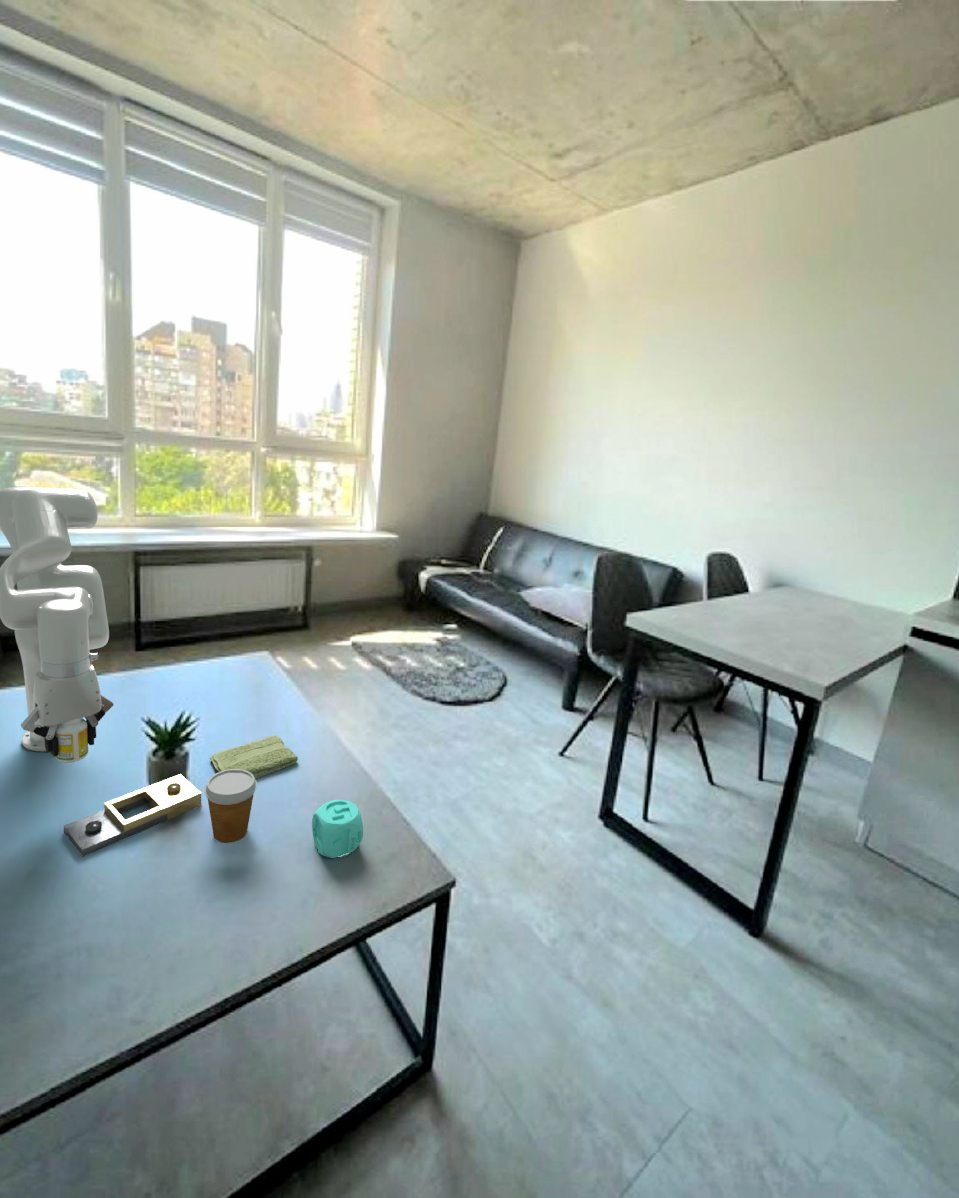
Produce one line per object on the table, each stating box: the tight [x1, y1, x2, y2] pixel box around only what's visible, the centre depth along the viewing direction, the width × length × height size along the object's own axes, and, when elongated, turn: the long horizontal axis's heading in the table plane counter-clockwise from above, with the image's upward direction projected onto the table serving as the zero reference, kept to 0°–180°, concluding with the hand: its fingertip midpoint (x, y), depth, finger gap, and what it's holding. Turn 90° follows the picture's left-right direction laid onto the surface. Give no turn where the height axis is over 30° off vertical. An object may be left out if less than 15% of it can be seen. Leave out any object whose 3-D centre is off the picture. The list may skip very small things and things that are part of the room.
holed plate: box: [63, 773, 202, 858], centre depth 115 cm, size 9×22×4 cm, turn 143°
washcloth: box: [209, 735, 299, 779], centre depth 138 cm, size 13×18×3 cm
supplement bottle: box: [54, 717, 89, 764], centre depth 111 cm, size 5×5×10 cm
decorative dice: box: [311, 799, 364, 859], centre depth 115 cm, size 8×8×8 cm
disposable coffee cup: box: [204, 769, 258, 844], centre depth 113 cm, size 10×10×12 cm
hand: (71, 746), depth 112 cm, fingers closed on supplement bottle, 5 cm apart
